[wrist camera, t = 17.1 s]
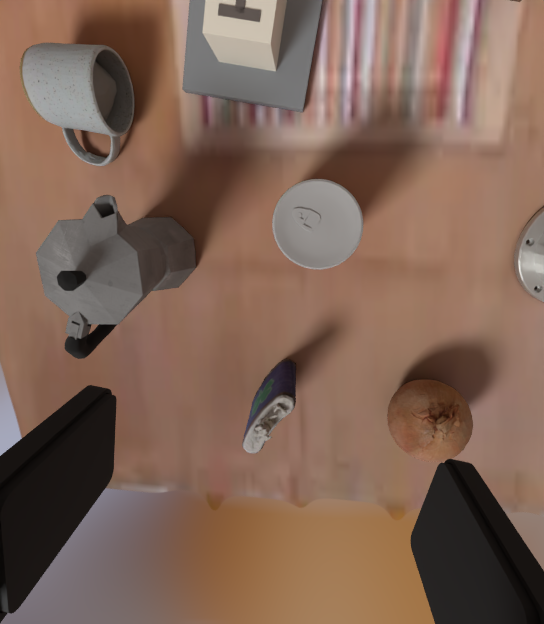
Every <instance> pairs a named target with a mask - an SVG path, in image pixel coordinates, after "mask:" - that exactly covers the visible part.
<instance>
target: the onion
mask: <svg viewBox="0 0 544 624" xmlns="http://www.w3.org/2000/svg"><path fill="white" fill-rule="evenodd" d="M388 426H389V430H390V432H391V435H392V437H393V438H394V440H395V442H396V443H397V445H398V446H399V447H400V448H401V449H402V450H404V451H405V452H406V453H408V454H409V455H411V456H413V457H414V458H417V459H419V460H422V461H426V462H442V461H446V460H447V459H451V458H454V457H455V456H457V455H458V454H459V453H460V452H461V451H463V450H464V448H465V446H466V444H467V443H468V441H469V439H470V437H471V435H472V429H473V420H472V415H471V411H470V409H469V406H468V404H467V403H466V401H465V400H464V398H463V397H462V396H461V395H460V394H459V392H457V391H456V390H455V389H454V388H452V387H450V386H449V385H446V384H444V383H442V382H440V381H436V380H429V379H421V380H414V381H411V382H408V383H406V384H404V385H403V386H402V387H401V388H399V389H398V390H397V392H396V393H395V394H394V395H393V397H392V399H391V401H390V404H389V407H388Z"/></svg>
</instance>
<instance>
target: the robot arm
mask: <svg viewBox="0 0 544 624" xmlns="http://www.w3.org/2000/svg"><path fill="white" fill-rule="evenodd" d="M526 241H527V243H526ZM514 266H515V272H516V275H517V278H518V280H519V282H520V284H521V285H522V287H523V288H524V289H525V291H527V292H528V293H529V294H530V295H531V296H532V297H534V298H536V299H538V300H540V301H542V302H544V207H543V208H542V209H541V210H540V211H538V212H537V213H536V214H535V215H534V216H533V217H532V219H531V220H530V221H529V222H528V223H527V225H526V226H525V228H524V229H523V231H522V233H521V235H520V237H519V239H518V242H517V245H516V249H515V254H514ZM115 420H116V396H114V395H112V392H111V390H110V389H107V388H102V387H97V386H92V385H89V386H87V387H86V388H84V389H83V390H82V391H81V392H79V393H78V394H77V395H76V396H74V397H73V398H72V399H71V400H69V401H68V402H67V403H66V404H64V405H63V406H62V407H61V408H59V409H58V410H57V411H56V412H54V413H53V414H52V415H51V416H49V417H48V418H47V419H46V420H44V421H43V422H42V423H41V424H40V425H38V426H37V427H36V428H35V429H33V430H32V431H31V432H30V433H28V434H27V435H26V436H25V437H23V438H22V439H21V440H20V441H18V442H17V443H16V444H15V445H13V446H12V447H11V448H10V449H8V450H7V451H6V452H5V453H3V454H2V455H1V456H0V623H1V621H2V620H3V619H4V617H5V616H6V614H7V613H14V612H15V611H16V610H17V609H18V608H19V607H20V606H21V604H22V603H23V601H24V600H25V599H26V597H27V596H28V594H29V593H30V592H31V590H32V589H33V588H34V586H35V585H36V583H37V582H38V581H39V579H40V577H42V575H43V574H44V572H45V571H46V569H47V568H48V567H49V566H50V564H51V563H52V561H53V560H54V558H55V557H56V556H57V554H58V553H59V552H60V550H61V549H62V547H63V546H64V545H65V543H66V542H67V541H68V539H69V538H70V536H71V535H72V533H73V532H74V531H75V529H76V528H77V527H78V525H79V524H80V522H81V521H82V520H83V518H84V517H85V516H86V514H87V513H88V511H89V510H90V508H91V507H92V505H93V504H94V503H95V502H96V500H97V499H98V497H99V496H100V495H101V493H102V492H103V490H104V489H105V488H106V486H107V485H108V483H109V482H110V480H111V477H112V474H113V469H114V445H115ZM411 548H412V552H413V555H414V558H415V561H416V564H417V568H418V571H419V574H420V577H421V580H422V583H423V587H424V590H425V593H426V596H427V599H428V602H429V605H430V608H431V612H432V615H433V618H434V621H435V624H544V571H543V569H542V568H541V566H540V565H539V563H538V562H537V560H536V559H535V557H534V556H533V554H532V553H531V551H530V550H529V548H528V547H527V545H526V544H525V543H524V541H523V540H522V538H521V536H520V535H519V533H518V532H517V530H516V529H515V527H514V526H513V524H512V523H511V521H510V520H509V518H508V517H507V515H506V514H505V512H504V511H503V509H502V508H501V506H500V505H499V503H498V502H497V500H496V499H495V497H494V496H493V494H492V493H491V491H490V490H489V488H488V487H487V485H486V484H485V482H484V481H483V479H482V478H481V476H480V475H479V473H478V472H477V470H476V469H475V467H474V466H473V465H472V464H471V463H468V462H463V461H458V460H453V459H447V460H446V461H445V463H440V464H439V465H438V467H437V470H436V472H435V475H434V477H433V480H432V483H431V485H430V488H429V490H428V493H427V495H426V498H425V501H424V503H423V506H422V508H421V511H420V513H419V516H418V519H417V521H416V524H415V527H414V529H413V531H412V535H411Z"/></svg>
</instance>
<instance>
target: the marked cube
mask: <svg viewBox="0 0 544 624" xmlns="http://www.w3.org/2000/svg"><path fill="white" fill-rule="evenodd" d="M286 4H287V0H206V1H205V11H204V22H203V32H202V33H203V34H204V36H205V38H206V40H207V42H208V43H209V45H210V47H211V49H212V50H213V52H214V54H215V56H216V57H217V59H218V61H219V62H223V63H229V64H235V65H241V66H246V67H252V68H258V69H264V70H270V71H276V69H277V62H278V56H279V49H280V43H281V36H282V30H283V23H284V17H285V10H286Z"/></svg>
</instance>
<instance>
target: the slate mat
mask: <svg viewBox="0 0 544 624" xmlns="http://www.w3.org/2000/svg"><path fill="white" fill-rule="evenodd" d="M205 1H206V0H190V3H189V16H188V28H187V40H186V53H185V65H184V77H183V90H184V91H185V92H186V93H192V94H198V95H204V96H210V97H216V98H222V99H228V100H233V101H239V102H245V103H251V104H257V105H263V106H269V107H275V108H281V109H287V110H292V111H298V112H303V109H304V103H305V98H306V92H307V87H308V81H309V75H310V70H311V64H312V58H313V53H314V47H315V41H316V36H317V30H318V24H319V19H320V13H321V7H322V2H323V0H287V4H286V10H285V17H284V23H283V30H282V36H281V43H280V49H279V56H278V62H277V69H276V71H270V70H264V69H258V68H252V67H246V66H241V65H235V64H229V63H223V62H219V61H218V59H217V57H216V56H215V54H214V52H213V50H212V49H211V47H210V45H209V43H208V42H207V40H206V38H205V36H204V34H203V33H202V32H203V22H204V11H205Z"/></svg>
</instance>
